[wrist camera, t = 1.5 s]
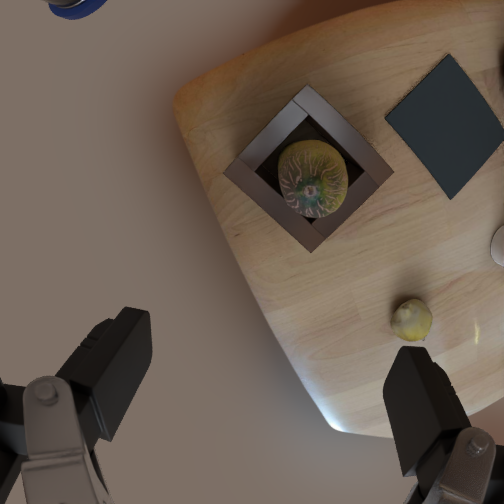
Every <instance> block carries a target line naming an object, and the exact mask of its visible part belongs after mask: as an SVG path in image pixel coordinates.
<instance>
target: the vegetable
mask: <svg viewBox="0 0 504 504" xmlns="http://www.w3.org/2000/svg"><path fill="white" fill-rule="evenodd" d="M277 168H278V176H279V184H280V188H281V191H282V194H283V197H284V199H285V201H286V202H287V204H288V205H289V206H290V207H291V208H293V209H294V210H295V211H296V212H297V213H299V214H301V215H303V216H306V217H312V218H320V217H325V216H327V215H329V214H331V213H333V212H334V211H336V210H337V209H338V208H339V207H340V205H341V204H342V202H343V201H344V199H345V196H346V193H347V188H348V175H347V170H346V165H345V162H344V160H343V158H342V157H341V155H340V154H339V152H338V151H337V150H336V149H335V148H333V147H332V146H330V145H329V144H327V143H325V142H322V141H319V140H303V141H298V142H293V143H290V144H288V145H287V146H285V147H284V148H283V149H282V151H281V152H280V155H279V157H278V161H277Z"/></svg>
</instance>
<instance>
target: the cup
mask: <svg viewBox="0 0 504 504" xmlns="http://www.w3.org/2000/svg"><path fill="white" fill-rule="evenodd" d="M491 256H492V258H493V260H494V261H495V262H496V263H498V264H499V265H501V266H503V267H504V225H503V226H502V227H500V228H499V229H498V230H497V231H496V233H495V235H494V237H493V239H492V242H491Z"/></svg>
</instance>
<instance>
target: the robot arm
mask: <svg viewBox="0 0 504 504" xmlns="http://www.w3.org/2000/svg"><path fill="white" fill-rule="evenodd" d="M43 1H46V2H48V3H50V4H53V5H55V6H57V7H59V8H62V9H72V8H75V7H77V6H79V5H81V4H83V3H84V2H86V1H87V0H43ZM151 358H152V338H151V324H150V314H149V312H148V311H145V310H140V309H136V308H131V307H124V308H123V309H122V310H121V312H120V313H119V314H118V316H117V317H116V318H115V319H114V320H113V319H109V318H108V319H106V320H104V321H103V322H101V323H99V324H98V325H96V326H95V327H94V328H93V329H92V330H91V332H90V333H89V334H88V335H87V338H85V339H84V340H83V341H82V342H81V344H80V346H78V347H77V349H76V350H75V351H74V352H73V353H72V355H71V356H70V357H69V358H68V360H67V361H66V362H65V363H64V365H63V366H62V367H61V368H60V370H59V371H58V372H57V374H56V375H55V376H43V377H40V378H37V379H35V380H33V381H32V382H30V383H29V384H28V385H27V387H23V386H16V385H8V384H3V383H2V380H1V378H0V504H5V502H6V500H7V497H8V495H9V493H10V491H11V489H12V487H13V485H14V483H15V481H16V479H17V477H18V475H19V473H20V471H21V474H22V480H23V486H24V492H25V497H26V502H27V504H114V501H113V499H112V497H111V494H110V492H109V489H108V486H107V484H106V481H105V478H104V475H103V472H102V469H101V466H100V463H99V460H98V457H97V454H96V450H95V448H94V446H95V444H96V442H97V440H98V438H101V439H104V440H107V441H110V442H111V441H112V439H113V437H114V435H115V433H116V431H117V429H118V427H119V425H120V423H121V421H122V419H123V417H124V415H125V413H126V411H127V409H128V407H129V405H130V403H131V401H132V399H133V397H134V395H135V393H136V391H137V389H138V387H139V385H140V384H141V382H142V380H143V378H144V376H145V374H146V372H147V370H148V368H149V366H150V363H151ZM383 399H384V402H385V406H386V410H387V413H388V417H389V421H390V425H391V429H392V433H393V436H394V440H395V444H396V449H397V452H398V457H399V461H400V466H401V470H402V474H403V477H408V476H416V475H417V479H418V481H417V482H416V483H415V485H414V486H413V488H412V489H411V491H410V493H409V495H408V497H407V498H406V500H405V502H404V504H504V446H502V445H496V444H495V442H494V440H493V438H492V437H491V436H490V435H489V434H488V433H487V432H486V431H484V430H482V429H480V428H476V427H472V426H471V424H470V421H469V419H468V417H467V415H466V413H465V411H464V408H463V406H462V404H461V402H460V400H459V398H458V396H457V395H456V392H455V390H454V388H453V386H451V382H450V380H449V378H448V376H447V374H446V372H445V371H444V370H443V369H442V368H441V367H440V366H439V365H438V364H437V363H436V362H433V361H432V360H431V358H430V356H429V354H428V352H427V350H426V348H424V347H415V346H402V347H401V348H400V350H399V352H398V354H397V356H396V358H395V360H394V363H393V365H392V367H391V369H390V371H389V373H388V376H387V378H386V380H385V383H384V387H383ZM27 458H28V459H27Z"/></svg>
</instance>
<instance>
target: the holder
mask: <svg viewBox="0 0 504 504" xmlns="http://www.w3.org/2000/svg"><path fill="white" fill-rule="evenodd" d="M304 119H306V120H307V121H308V122H309V123H310V124H311V125H312V126H313V127H314V128H315V129H316V130H317V131H318V132H319V133H320V134H321V135H322V136H324V137H325V138H326V139H327V140H328V141H329V142H330V143H331V144H332V145H333V146H334V147H335V148H336V149H337V150H338V151H339V152H340V153H341V154H342V155H343V156H344V157H345V158H346V159H347V160H348V161H349V163H348V164H347V165H346V170H347V175H348V188H347V193H346V196H345V199H344V201H343V202H342V204H341V205H340V207H339V208H338V209H337V210H336V211H334V212H333V213H331V214H329V215H327V216H325V217H320V218H312V217H306V216H303V215H301V214H299V213H297V212H296V211H295V210H294V209H293V208H291V207H290V206H289V205H288V204H287V202H286V201H285V199H284V197H283V194H282V191H281V188H280V184H279V180H278V179H277V178H276V177H275V176H274V175H273V174H272V173H271V172H269V171H268V170H267V169H266V168H265V167H264V166H263V165H262V163H263V162H264V161H265V160H266V159H267V158H268V157H269V156H270V155H271V154H272V152H273V151H274V150H275V149H276V148H277V147H278V146H279V145H280V144H281V143H282V142H283V141H284V140H285V139H286V138H287V137H288V136H289V135H290V134H291V133H292V132H293V131H294V130H295V129H296V128H297V127H298V126H299V125H300V123H301V122H302V121H303V120H304ZM393 173H394V171H393V170H392V169H391V167H390V166H389V165H388V164H387V163H386V162H385V161H384V159H383V158H382V157H381V156H380V155H379V154H378V153H377V152H376V151H375V150H374V148H373V147H372V146H371V145H370V144H369V143H368V142H367V141H366V140H365V139H364V138H363V137H362V136H361V135H360V134H359V133H358V131H357V130H356V129H355V128H354V127H353V126H352V125H351V124H350V123H349V122H348V121H347V120H346V119H345V118H344V117H343V116H342V115H341V114H340V113H339V112H338V111H337V110H336V109H334V108H333V107H332V106H331V105H330V104H329V103H328V102H327V101H326V100H325V99H324V98H323V97H322V96H321V95H320V94H319V93H317V92H316V91H315V90H314V89H313V88H312V87H311V86H310V85H309V84H306V85H305V86H304V87H303V88H302V89H301V90H300V91H299V92H298V93H297V94H296V95H295V96H294V97H293V98H292V100H290V101H289V102H288V103H287V104H286V105H285V106H284V107H283V108H282V110H281V111H280V112H279V113H278V114H277V115H276V116H275V117H274V118H273V119H272V120H271V121H270V122H269V123H268V124H267V125H266V126H265V127H264V128H263V129H262V130H261V131H260V133H259V134H258V135H257V136H256V137H255V138H254V139H253V140H252V141H251V142H250V143H249V144H248V145H247V147H246V148H245V149H244V150H243V151H242V152H241V153H240V154H239V155H238V157H236V159H235V160H234V161H233V162H232V163H231V164H230V165H229V166H228V168H227V169H226V170H225V171H224V172H223V174H224V175H225V176H226V177H228V178H229V179H230V180H231V181H232V182H233V183H234V184H236V185H237V186H238V187H239V188H240V189H241V190H242V191H243V192H244V193H246V194H247V195H248V196H249V197H250V198H251V199H252V200H253V201H255V202H256V203H257V204H258V205H259V206H260V207H261V208H262V209H263V210H264V211H266V212H267V213H268V214H269V215H270V216H271V217H272V218H273V219H274V220H275V221H277V222H278V223H279V224H280V225H281V226H282V227H283V228H284V229H285V230H286V231H287V232H288V233H290V234H291V235H292V236H293V237H294V238H295V239H296V240H297V241H298V242H299V243H300V244H301V245H302V246H304V247H305V248H306V249H307V250H308V251H309V252H310V253H312V252H313V251H314V250H315V249H316V248H317V247H318V246H319V245H320V244H321V243H322V242H323V241H324V240H325V239H326V238H327V237H329V236H330V235H331V234H332V233H333V232H334V231H335V230H336V229H337V228H338V227H339V226H340V225H341V224H342V223H343V222H344V221H345V220H346V219H347V218H348V217H349V216H350V215H351V214H352V213H353V212H355V211H356V210H357V209H358V208H359V207H360V206H361V205H362V204H363V203H364V202H365V201H366V200H367V199H368V198H369V197H370V196H371V195H372V194H373V193H374V192H375V191H376V190H377V189H378V188H379V187H380V186H381V185H382V184H383V183H384V182H385V181H386V180H387V179H388V178H389V177H390V176H391V175H392V174H393Z"/></svg>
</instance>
